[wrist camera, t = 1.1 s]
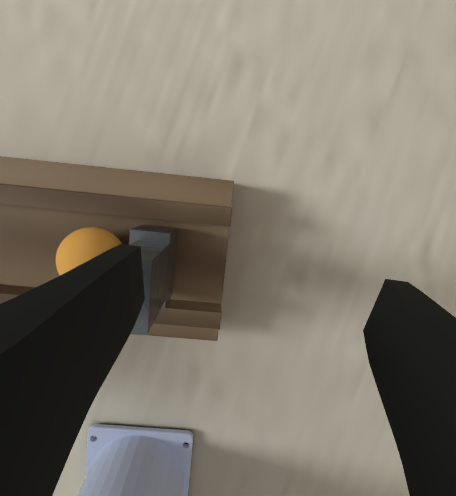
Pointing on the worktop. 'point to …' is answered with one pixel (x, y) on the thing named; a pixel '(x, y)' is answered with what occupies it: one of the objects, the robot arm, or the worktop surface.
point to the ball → (83, 247)
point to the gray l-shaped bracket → (154, 270)
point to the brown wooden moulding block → (117, 230)
